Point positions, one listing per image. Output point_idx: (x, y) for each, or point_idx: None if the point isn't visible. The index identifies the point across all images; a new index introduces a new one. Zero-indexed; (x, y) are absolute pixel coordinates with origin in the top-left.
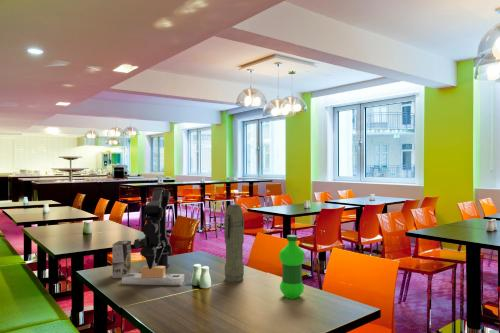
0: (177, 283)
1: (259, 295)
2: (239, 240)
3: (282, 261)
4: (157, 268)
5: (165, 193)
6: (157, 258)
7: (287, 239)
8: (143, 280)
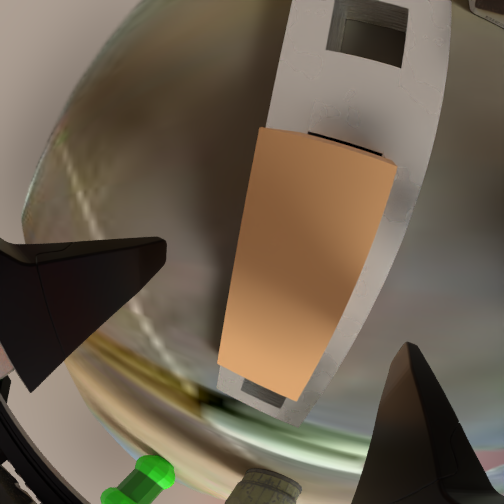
0: None
1: (161, 444)
2: None
3: (112, 491)
4: (224, 323)
5: None
6: (386, 420)
7: None
8: None
